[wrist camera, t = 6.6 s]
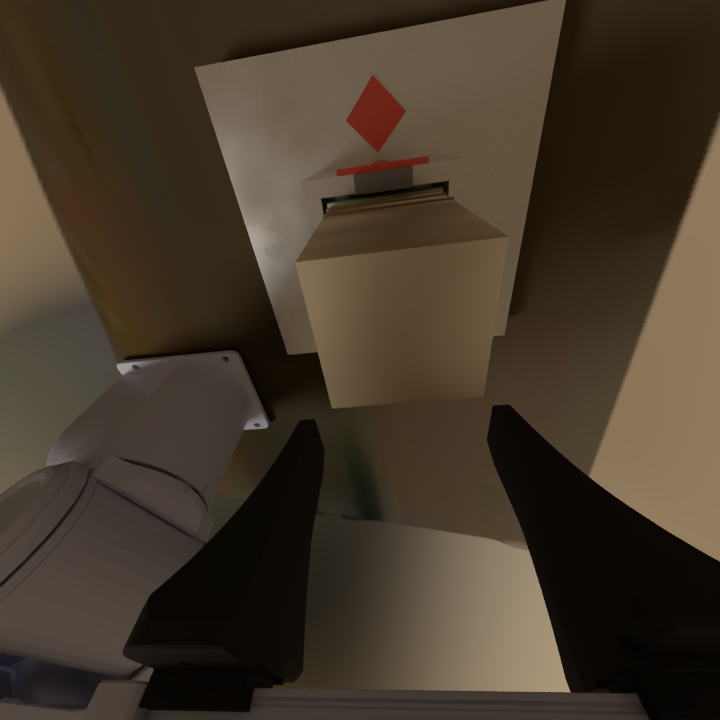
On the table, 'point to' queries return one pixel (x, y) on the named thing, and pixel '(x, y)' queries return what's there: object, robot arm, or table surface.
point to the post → (402, 297)
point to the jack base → (384, 133)
